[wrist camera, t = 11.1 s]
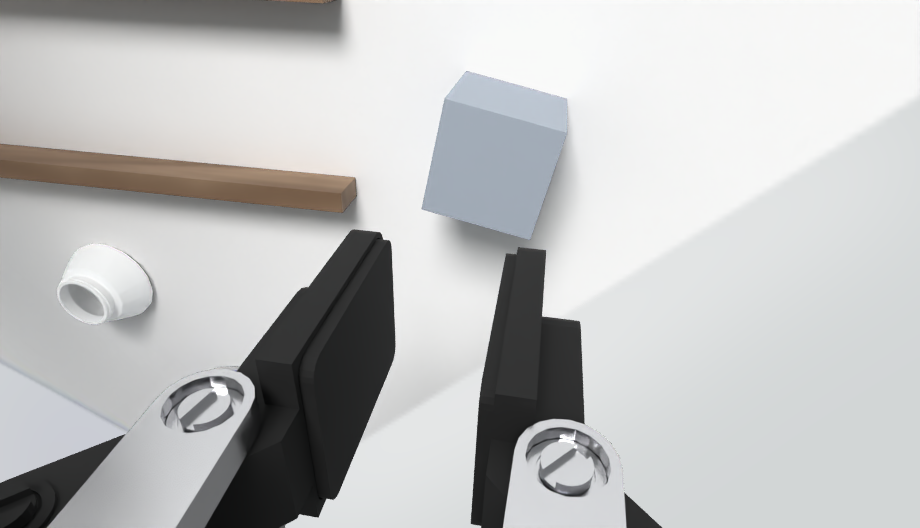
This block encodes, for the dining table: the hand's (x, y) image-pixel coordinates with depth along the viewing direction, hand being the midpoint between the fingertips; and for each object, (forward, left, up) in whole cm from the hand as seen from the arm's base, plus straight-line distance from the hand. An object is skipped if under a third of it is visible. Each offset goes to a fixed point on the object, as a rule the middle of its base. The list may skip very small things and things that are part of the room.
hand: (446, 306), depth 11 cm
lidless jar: (+12, -23, -16) cm, 31 cm away
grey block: (+1, 0, -15) cm, 15 cm away
